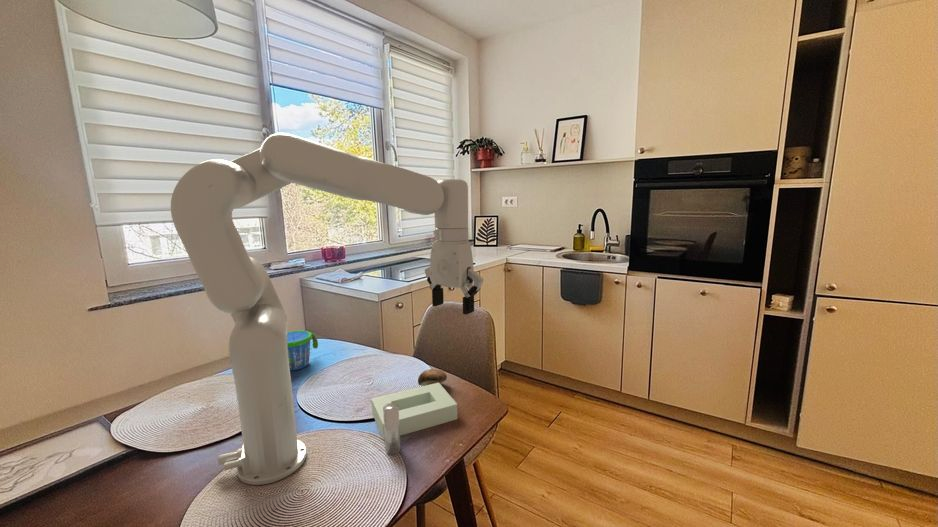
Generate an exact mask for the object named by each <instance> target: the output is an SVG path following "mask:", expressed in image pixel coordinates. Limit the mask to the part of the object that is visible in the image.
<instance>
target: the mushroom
mask: <svg viewBox="0 0 938 527" xmlns="http://www.w3.org/2000/svg"><path fill="white" fill-rule="evenodd" d="M447 378H448V376H447V374H446V373H445V372H444V371H443V370H441V369H436V368H435V369H433V368H430V369H426V370H424V371H423V372H421V373H420V374H419V375H418V378H417V383H418V385H419V386H420V387H422V386H426V385H430V384H434V383H440V384H442V383H443V382H446V380H447Z"/></svg>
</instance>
